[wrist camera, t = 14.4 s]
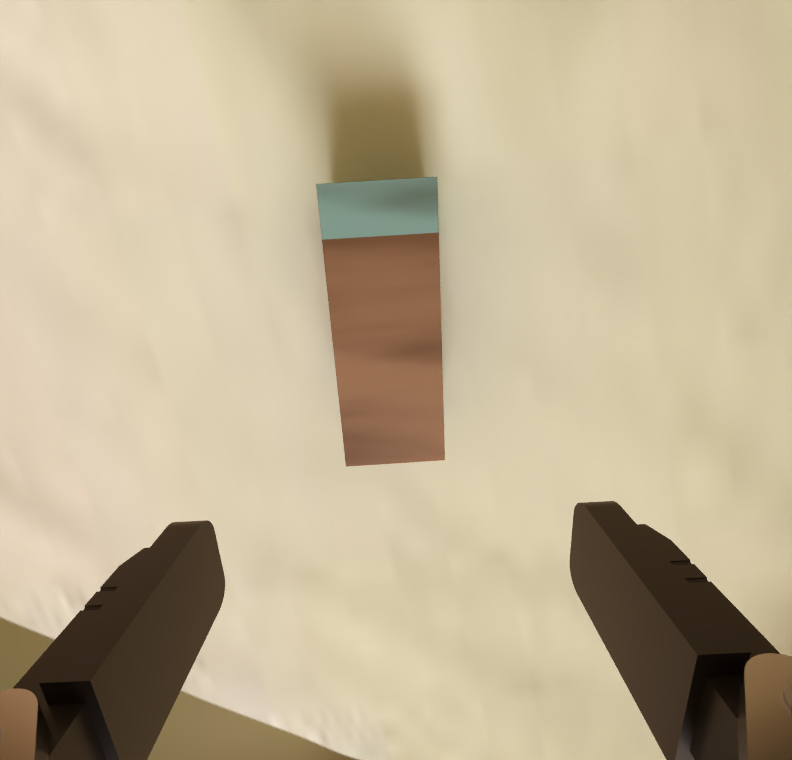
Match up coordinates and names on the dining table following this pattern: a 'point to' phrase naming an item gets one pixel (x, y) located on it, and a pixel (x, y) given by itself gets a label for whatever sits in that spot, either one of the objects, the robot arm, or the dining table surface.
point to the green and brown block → (385, 317)
